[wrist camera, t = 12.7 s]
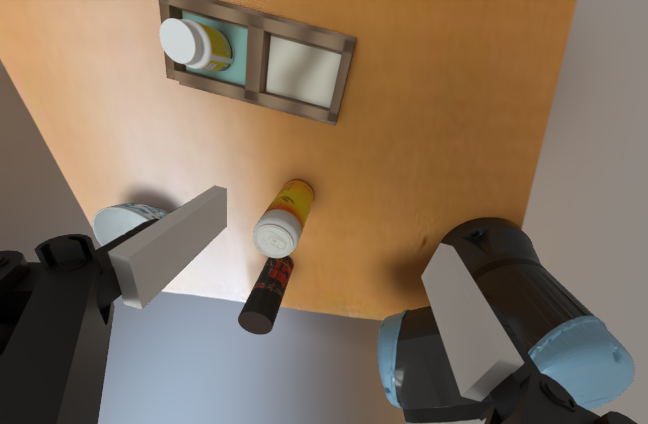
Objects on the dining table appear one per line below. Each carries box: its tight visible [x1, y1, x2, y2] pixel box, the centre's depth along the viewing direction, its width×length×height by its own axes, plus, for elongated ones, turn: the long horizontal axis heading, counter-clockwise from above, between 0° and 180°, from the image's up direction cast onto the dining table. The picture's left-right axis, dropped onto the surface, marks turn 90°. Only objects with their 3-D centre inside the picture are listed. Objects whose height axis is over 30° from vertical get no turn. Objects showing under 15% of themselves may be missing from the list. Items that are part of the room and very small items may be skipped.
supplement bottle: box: [159, 18, 234, 71], centre depth 28 cm, size 5×5×8 cm
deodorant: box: [238, 256, 294, 334], centre depth 45 cm, size 6×6×15 cm
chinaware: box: [93, 203, 170, 246], centre depth 46 cm, size 15×15×8 cm
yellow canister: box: [253, 180, 314, 258], centre depth 36 cm, size 6×6×15 cm
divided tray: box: [159, 0, 357, 126], centre depth 31 cm, size 24×11×4 cm, turn 77°
